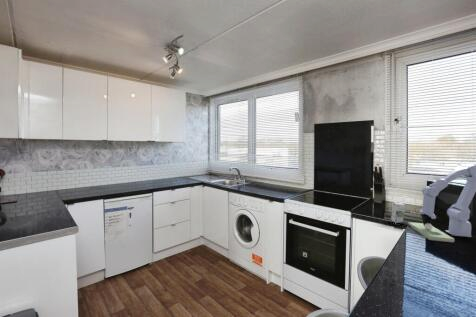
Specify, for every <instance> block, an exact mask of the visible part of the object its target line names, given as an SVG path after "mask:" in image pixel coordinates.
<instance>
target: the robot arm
mask: <svg viewBox="0 0 476 317" xmlns="http://www.w3.org/2000/svg"><path fill="white" fill-rule="evenodd" d="M462 176H463V177H464V178H465V179H466V182H465V184H464V186H463V189H462V191H461V192H460V195H459V197H458V198H457V201H456V202H455V203H453V204H451V206H450V207H449V208H448V209H447V210H446V214H447V216H448V218H449V223H448V224H449V225H448V230H447V229H446V230H444V231H445V233H448V234H451V236H456V237H467V238H472V223H471V222H470V221H469V219H470V217H471V216H470V213H471V210H470V209H469V206H470V204H471V203H472V201H473V198H474V196H475V194H476V164H467V163H461V164H459V165H458V166H456V167H455V169H454V170H452V171H451V172H450V173H449V174H448V175H446V176H445V177H444V178H439V179H438V178H437V179H435V181H434V182H432V183H431V184H429V185H428V186H424V187H423V188H422V189H421V193H422V194H423V195H422V196H423V197H422V205H421V206H422V207H421V208H420V209H419V213H420V217H421V219H422V223H423V225H425V224H426V223H429V224H431V222H432V221H433V220H436V218H437V215H435V213H434V212H435V205H436V197H437V196H438V195H439V193H440V192H441V191H443V190H444V189H445V188H448V187H449V183H451V182H452V181H454V180H456V179H458V178H459V177H462Z"/></svg>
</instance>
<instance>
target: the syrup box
mask: <svg viewBox="0 0 476 317" xmlns="http://www.w3.org/2000/svg"><path fill="white" fill-rule="evenodd" d="M405 211H406V204H404V203H403V202H396V201H395V202H394V201H393V202H391V210H390V221H391V220H392V221H394V222H395V224H394V225H397V224H396V223H398V222H405Z"/></svg>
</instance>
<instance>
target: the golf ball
mask: <svg viewBox="0 0 476 317" xmlns="http://www.w3.org/2000/svg"><path fill="white" fill-rule="evenodd" d="M432 226H433V225H432V224H431V223H430V224H429V223H426V224H425V225H424V227H425V228H426V229H427V230H431V229H432V228H433V227H434V226H433V227H432Z"/></svg>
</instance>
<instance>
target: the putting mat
mask: <svg viewBox="0 0 476 317" xmlns="http://www.w3.org/2000/svg"><path fill="white" fill-rule="evenodd" d="M408 224H409V225H410V226H411V227H410V226H409V225H408V226H409V227H410V228H411V229H413V230H414V231H416V232H418V233H419V234H421V236H423V237H424V238H426V239H427V240H428V241H436V242H437V241H438V242H447V243H455V238H454V237H452V236H450V235H448V234H447V233H446V232H444V231H442V230H440V229H438V228H436V227H435V226H433V225H432V227H433V228H432V229H431V230H427V229H426V228H425V227H424V225H423V222H422V223H421V222H410V221H408Z"/></svg>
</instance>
